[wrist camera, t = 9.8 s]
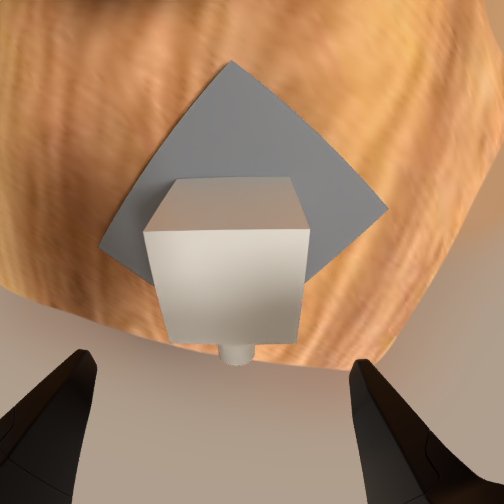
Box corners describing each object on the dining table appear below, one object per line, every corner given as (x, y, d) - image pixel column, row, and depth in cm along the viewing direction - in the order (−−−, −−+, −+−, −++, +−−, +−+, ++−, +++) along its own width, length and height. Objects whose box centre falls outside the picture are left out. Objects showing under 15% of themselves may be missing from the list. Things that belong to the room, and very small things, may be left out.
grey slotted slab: (232, 61, 13) (224, 53, 9) (381, 201, 17) (413, 238, 13) (104, 238, 19) (74, 279, 15) (237, 326, 23) (235, 374, 19)
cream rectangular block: (289, 176, 16) (310, 228, 11) (281, 312, 21) (289, 384, 16) (176, 179, 16) (143, 231, 10) (195, 312, 21) (182, 383, 16)
